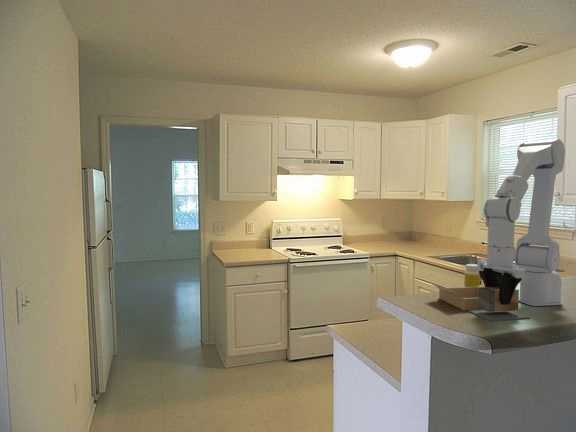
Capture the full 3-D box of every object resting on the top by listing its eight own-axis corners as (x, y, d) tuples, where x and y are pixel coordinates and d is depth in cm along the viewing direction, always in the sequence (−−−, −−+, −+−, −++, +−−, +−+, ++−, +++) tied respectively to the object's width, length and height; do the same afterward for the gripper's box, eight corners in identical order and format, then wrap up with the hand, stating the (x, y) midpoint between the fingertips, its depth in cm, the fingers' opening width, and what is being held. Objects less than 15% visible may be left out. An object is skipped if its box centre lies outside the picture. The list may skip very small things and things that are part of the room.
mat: (506, 309, 106) (506, 307, 106) (530, 318, 98) (530, 317, 98) (467, 311, 104) (468, 309, 104) (488, 320, 97) (488, 319, 97)
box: (506, 305, 104) (507, 286, 104) (518, 310, 100) (518, 289, 100) (478, 307, 103) (478, 287, 102) (488, 311, 99) (489, 291, 98)
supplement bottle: (482, 295, 122) (483, 266, 121) (465, 294, 123) (466, 266, 122) (478, 291, 126) (479, 264, 126) (462, 290, 127) (463, 263, 127)
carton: (486, 296, 120) (486, 279, 119) (515, 307, 108) (516, 289, 108) (429, 299, 116) (429, 281, 116) (452, 310, 105) (453, 291, 105)
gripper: (467, 243, 107) (466, 295, 108) (506, 250, 93) (504, 310, 93) (491, 242, 108) (490, 294, 109) (534, 250, 94) (531, 309, 95)
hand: (498, 301), depth 101 cm, fingers open, 4 cm apart
